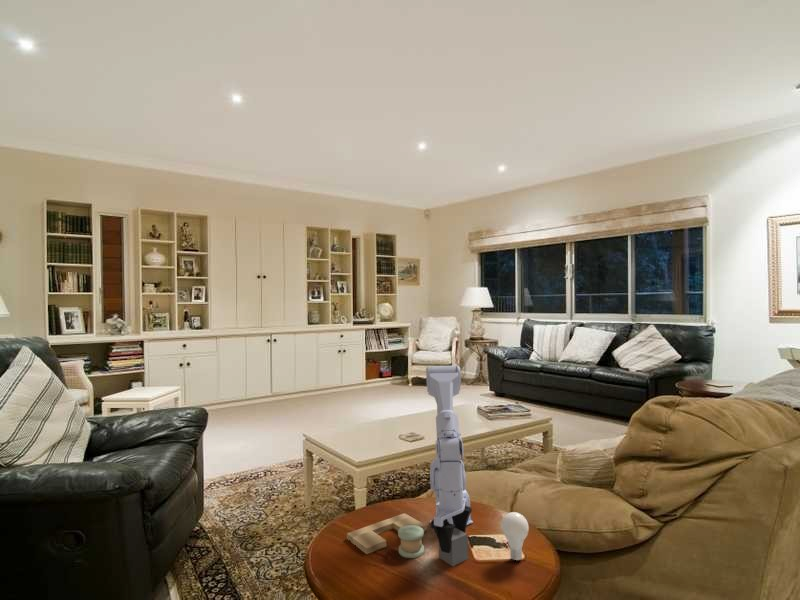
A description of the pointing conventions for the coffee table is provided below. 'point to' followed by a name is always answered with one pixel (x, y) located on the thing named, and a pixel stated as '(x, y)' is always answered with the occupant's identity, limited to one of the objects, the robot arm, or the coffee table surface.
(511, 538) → the lightbulb
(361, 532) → the notched board
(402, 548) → the bobbin
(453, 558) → the block
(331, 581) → the coffee table surface
